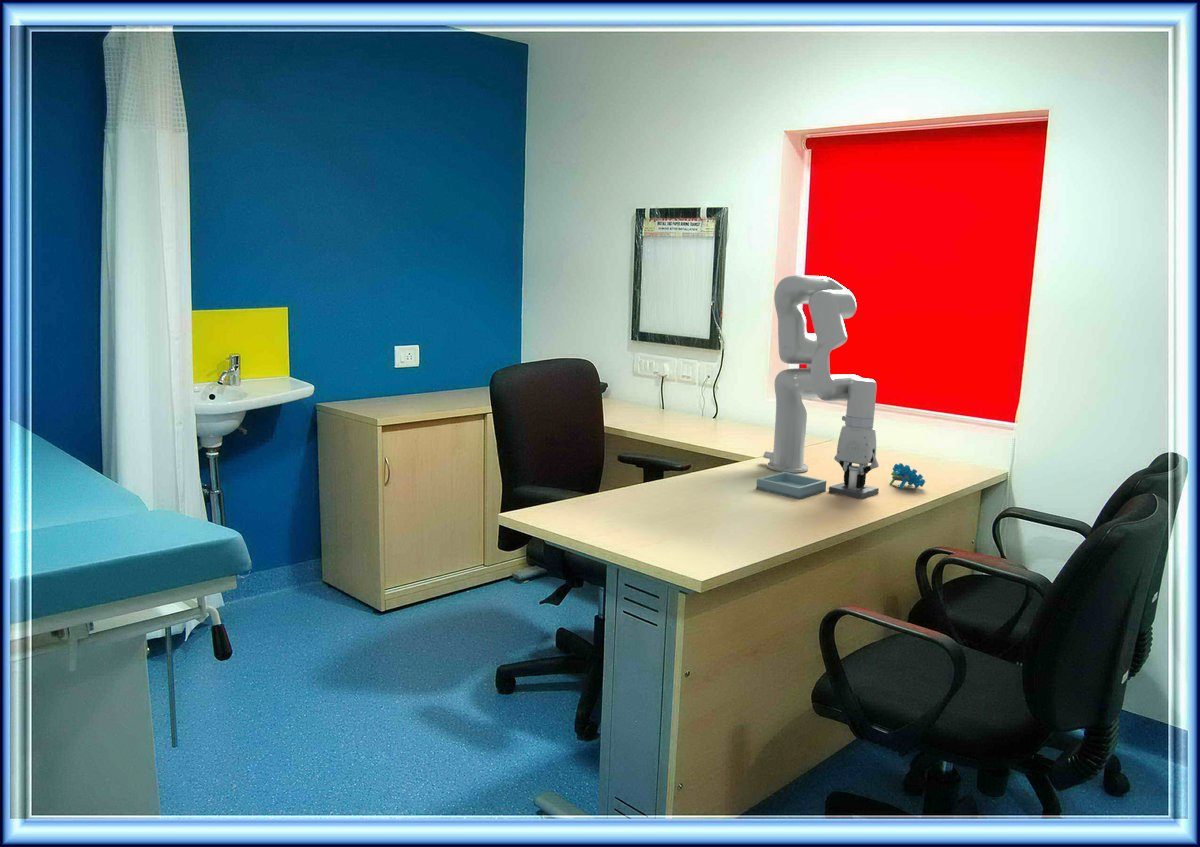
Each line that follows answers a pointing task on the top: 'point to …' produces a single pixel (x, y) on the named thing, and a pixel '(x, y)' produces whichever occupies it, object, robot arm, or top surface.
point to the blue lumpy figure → (906, 476)
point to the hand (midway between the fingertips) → (854, 485)
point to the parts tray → (791, 485)
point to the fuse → (853, 477)
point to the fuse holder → (853, 491)
